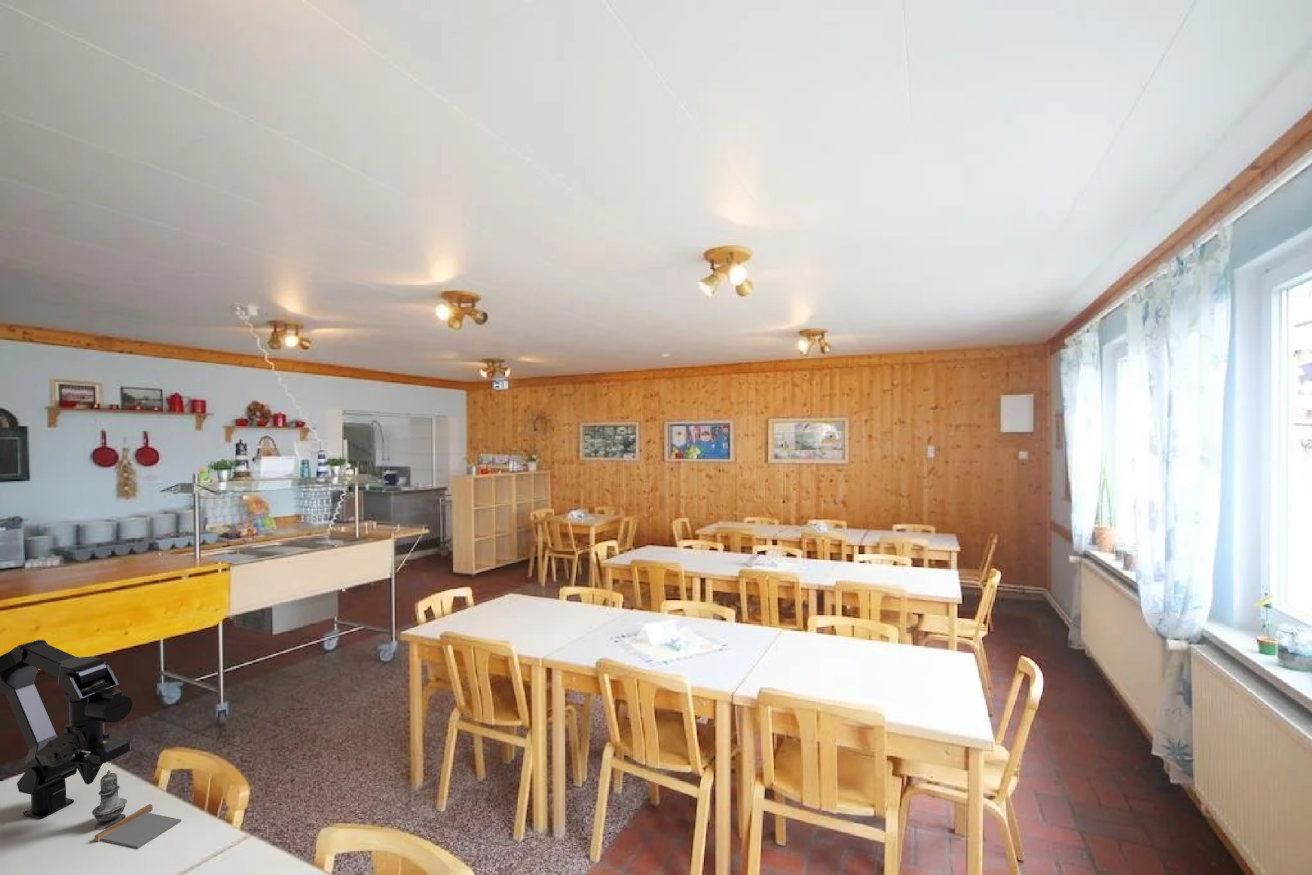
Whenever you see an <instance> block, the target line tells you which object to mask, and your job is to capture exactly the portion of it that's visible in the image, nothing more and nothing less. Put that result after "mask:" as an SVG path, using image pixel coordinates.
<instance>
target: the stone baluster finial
mask: <svg viewBox="0 0 1312 875" xmlns="http://www.w3.org/2000/svg"><path fill="white" fill-rule="evenodd" d="M120 788H121V786H120V785H119V784H118V774H117V773H116V772H115V773H114V772H111V770H107V771H106V774H104V775H103V776H102V777H101V779H100V791H98V795H99V796H100V802H99V804H98V806H96V807H95V808H94V809H93V810H92V812H91V813H92V815H93V816H94V818H95V819H96V821H97V823H95V825H94V829H95V830H98V831H99V830H102V831H103V830H105V829H107V828H109V827H110V826H112V825H114V824H116V823H117V822H119V821H121V820H123V819H124V818H126V817H127V815H126V814H125V813H123V812H124V811H125V807H126V804H128V803H127V802H128V800H127V798H120V797H119V789H120Z"/></svg>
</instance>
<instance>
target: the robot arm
mask: <svg viewBox="0 0 1312 875" xmlns="http://www.w3.org/2000/svg"><path fill="white" fill-rule="evenodd" d="M39 670H40V671H42V672H44V673H46V674H49V675H50V676H53V677H55V678H57V686H58V687H60V688H61V689H63V690H64V692H65V693H64V694H63V696H62V699H65V700H68V714H69V717H68V718H69V720H68V721H69V724H66V725H64V728H62V729H63V730H62V734H61V735H60V736H59V735H57V733H56V729H55V728H54V725H53V723H52V721H51V718H50V716H49V714H48V712H47V710H46V707H45V705H44V703H43V700H42V697H41V696H40V693H39V691H38V688H37V686H36V684H35V681H36V678H37V676H38V672H39ZM119 686H120V683H119V681H118V676H116V674H115V673H114V672H113V670H112V669H111V667H110V665H109V664H108V662H106V661H105V660H104V659H103V658H100V657H95V656H83V657H82V656H75V655H72V654H71V653H69V652H66V651H64V650H61V649H59V648H57V647H55V646H52V645H50V644H48V642H47V641H46V640H45V639H37V640H34V641H33V640H32V641H29V642H26V643H21V644H19V645H17V646H15V647H13V648H12V649H11V650H10V651H8V652H6V653H3V654H2V655H0V694H3V695H4V696H5V697H6V699H7V701H8V703H9V705H10V708H11V711H12V712H13V716H14V718H15V720H16V722H17V724H18V727H19V730H20V731H21V734H22V736H23V739H24V741H25V743H26V746H27V748H28V752H27V755H26V759H25V762H24V764H23V766H24V768H25V772H24V773H23V775H22V776H21V777H20V778H19V779H18V781H17V782H16V786H17V790H18V793H22V794H25V795H26V794H27V795H30V807H31V808H29V809H26V810H25V811H23V813H22V815H23V816H28V817H32V818H36V819H44V818H45V817H48V816H50V815H51V814H52V815H53V813H56V812H58V811H59V810H61V809H63V808H65V807H67V806H69V805H72V803H74V802H75V799H73V798H69V797H67V786H66V785H67V784H66V779H67V778H69V777H71V776H75V775H76V774H77V771H78V772H79V774H80V776H81V778H82V781H83V782H84V784H85V785H90V784H92V783H94V780H95V779H96V777H97V775H98V774H99V771H100V770H101V767H102V766H103V764H104V765H105V764H106V763H108V762H110V761H113V760H115V759H117V758H119V757H121V756H123V755H125V754H127V753H129V752H130V751H131V750H132V742H131V741H130V740H127V739H123V738H115V737H114V738H113V739H111V740H108V739H109V738H110V733H108V732H105V723H112V724H115V723H119V722H121V721H122V720H124V719H125V718H127V716H128V715H129V714H130V712H131V711H132V708H133V705H134V704H133V700H132V698H131V697H130V696H128V695H125V694H123V690H121V689H115V688H117V687H119ZM106 740H108V741H106Z"/></svg>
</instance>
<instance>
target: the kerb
mask: <svg viewBox="0 0 1312 875" xmlns="http://www.w3.org/2000/svg"><path fill="white" fill-rule="evenodd" d="M153 808H154V807H153V804H151V803H149V804H147V805H145V806H144V807H142V808H140V809H139V810H137V811H135V812H133V813H131V814H130V815H127V816H126V818H124V819H123V820H121V821H119V822H117V823H116V824H114V825H112V826H110V827H109V828H107V829H103V830H102V831H100V832H97V834H95V835H94V841H95V842H98V843H99V842H101V841H102V840H101V838H102V837H104V836H106V835H107V834H109V833H111V832H113V831H114V830H116V829H118V828H119V827H121V826H123V825H125V824H126V823H128V822H130V821H131V820H133V819H135V818H137V817H138V816H140V815H142V814H143V813H145V812H147V813H151V812H152V811H153Z"/></svg>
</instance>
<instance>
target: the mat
mask: <svg viewBox="0 0 1312 875" xmlns="http://www.w3.org/2000/svg"><path fill="white" fill-rule="evenodd" d="M181 822H182V819H180V818H176V817H171V816H166V815H162V814H156V813H151V812H148V813H147V812H145V813H143V814H142V815H140V816H138V817H137V818H135V819H133V820H131V821H130V822H128V823H126V824H125V825H123V826H121V827H119V828H118V829H116V830H114V831H113V832H111V833H109V834H107V835H106V836H104V837H102V838H101V840H100V841H102V842H107V843H112V844H117V845H121V846H125V847H130V848H134V849H140V848H141V847H143V846H144V845H146V844H147V843H149V842H151V841H152V840H154V839H155V838H158V837H159V836H160V835H162V834H164V833H165V832H167V831H168V830H170V829H171V828H173V827H174V826H176V825H178V824H179V823H181Z"/></svg>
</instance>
